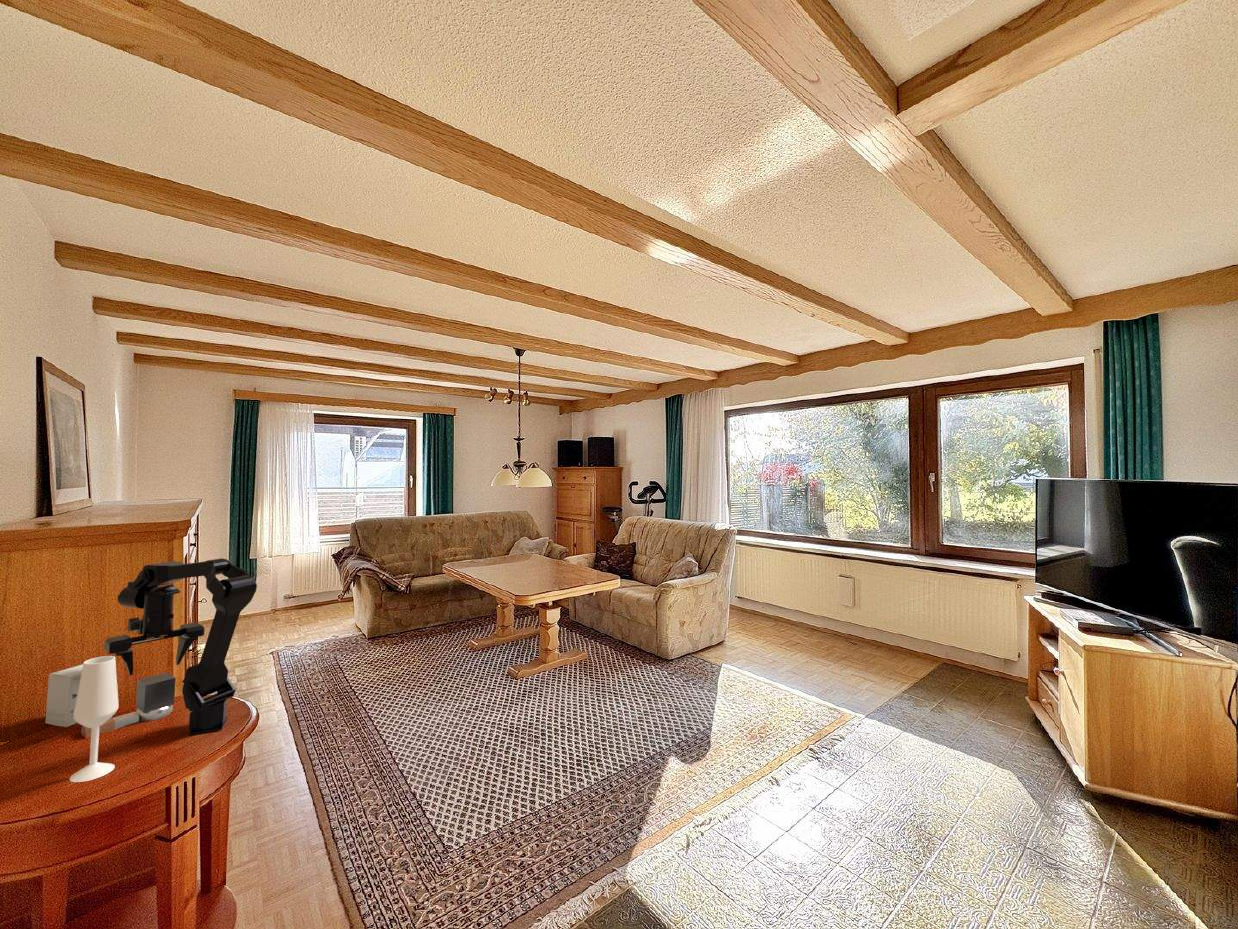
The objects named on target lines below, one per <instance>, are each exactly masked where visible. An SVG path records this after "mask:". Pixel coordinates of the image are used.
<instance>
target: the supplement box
mask: <svg viewBox="0 0 1238 929" xmlns="http://www.w3.org/2000/svg"><path fill="white" fill-rule="evenodd" d="M83 664H84V663H82V664H79V665H76V666H72V667H70V668H69V667H68V668H66V669H65V668H64V669H61V670H58V671H54V672H51V673H49V674H48V683H47V693H46V694H47V696H46V710H45V712H46V713H45V724H48V725H52V726H57V727H62V726H63V728H68V727H70V726H73V725H75V724H78V723H77V722H76V721H75V719H74V717H73V716H74V711H75V705H76V700H77V695H78V690H79V684H80V679H81V674H82V669H83Z"/></svg>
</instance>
